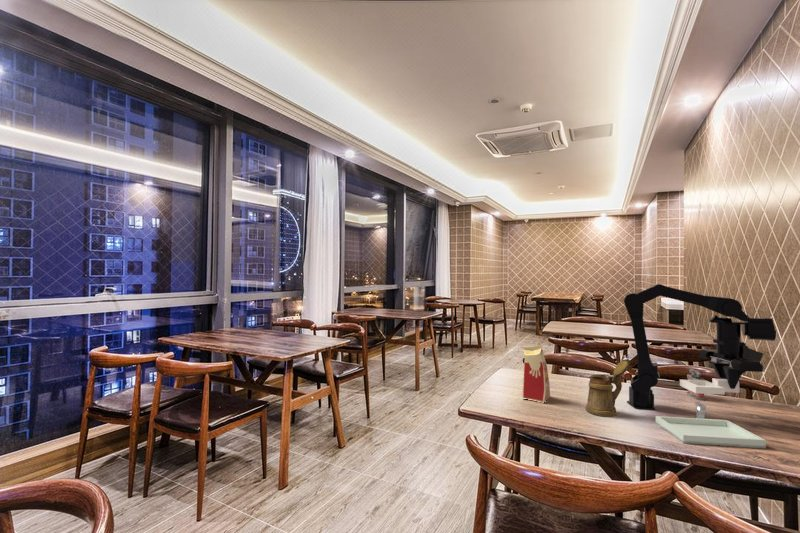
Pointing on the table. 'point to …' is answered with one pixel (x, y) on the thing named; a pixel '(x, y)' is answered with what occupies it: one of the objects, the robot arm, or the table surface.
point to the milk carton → (535, 375)
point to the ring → (709, 386)
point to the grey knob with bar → (700, 410)
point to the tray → (709, 432)
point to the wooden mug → (605, 392)
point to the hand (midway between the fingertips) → (729, 387)
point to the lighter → (695, 376)
